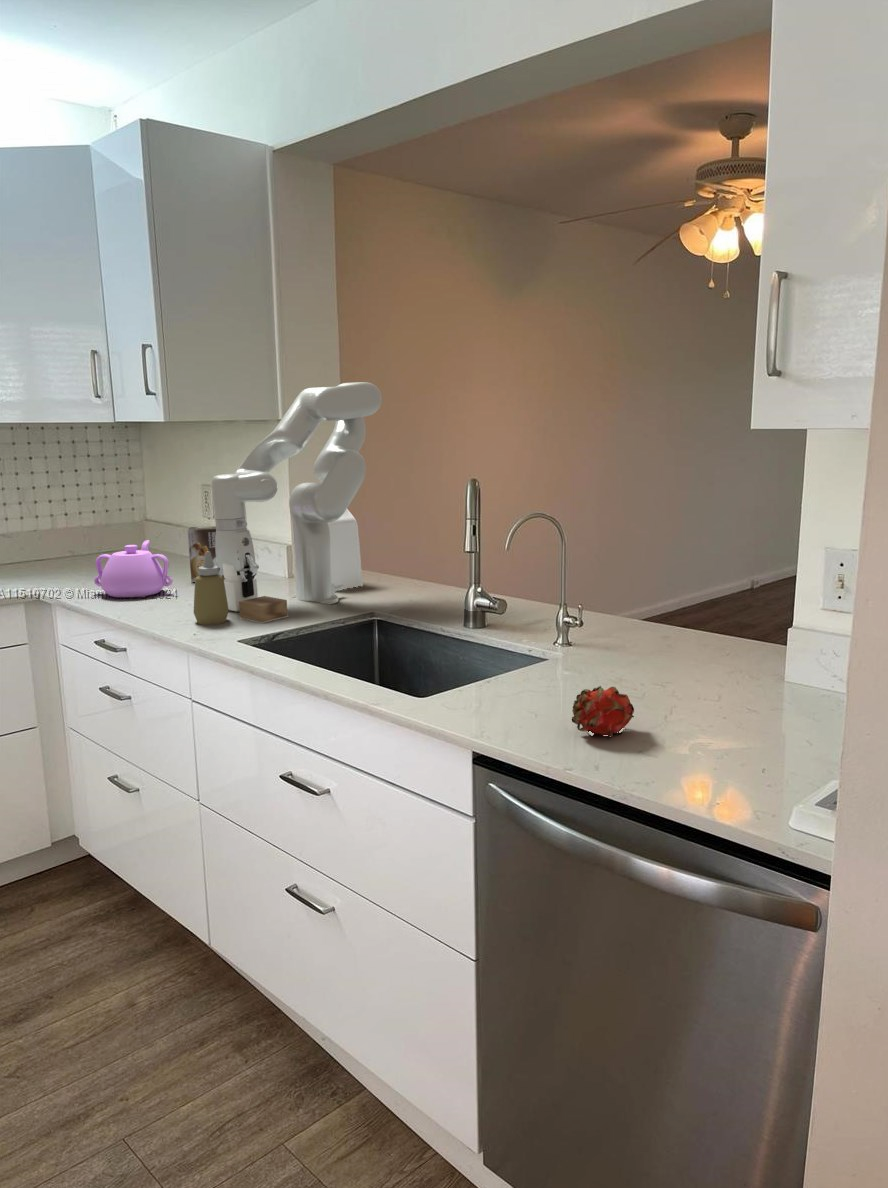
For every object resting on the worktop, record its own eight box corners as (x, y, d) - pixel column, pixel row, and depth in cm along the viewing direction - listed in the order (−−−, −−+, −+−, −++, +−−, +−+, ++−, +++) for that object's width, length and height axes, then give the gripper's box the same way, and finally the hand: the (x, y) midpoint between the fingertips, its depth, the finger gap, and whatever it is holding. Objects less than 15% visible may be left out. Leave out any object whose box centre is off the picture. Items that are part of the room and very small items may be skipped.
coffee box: (225, 578, 277) (222, 525, 274) (221, 582, 271) (218, 528, 267) (194, 579, 276) (191, 526, 273) (190, 583, 270) (186, 529, 267)
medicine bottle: (241, 602, 234) (237, 556, 231) (259, 605, 230) (255, 559, 227) (218, 608, 229) (214, 561, 226) (236, 612, 224) (232, 564, 222)
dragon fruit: (565, 748, 143) (624, 745, 148) (596, 731, 136) (657, 729, 142) (552, 697, 146) (611, 696, 152) (583, 677, 139) (643, 677, 145)
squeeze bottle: (194, 631, 211) (189, 555, 208) (194, 624, 219) (189, 550, 215) (230, 629, 213) (226, 553, 210) (228, 621, 221) (224, 548, 217)
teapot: (187, 585, 267) (184, 538, 264) (163, 600, 246) (160, 550, 243) (113, 585, 267) (109, 538, 265) (82, 600, 246) (78, 550, 243)
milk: (328, 592, 256) (325, 499, 250) (305, 586, 264) (302, 496, 259) (362, 586, 264) (360, 496, 258) (339, 580, 272) (336, 493, 267)
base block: (265, 611, 226) (264, 595, 225) (287, 616, 221) (286, 599, 220) (239, 617, 219) (238, 601, 218) (262, 622, 215) (261, 605, 214)
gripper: (266, 524, 222) (272, 595, 226) (220, 520, 233) (227, 588, 237) (242, 529, 216) (249, 601, 220) (196, 524, 227) (203, 594, 231)
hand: (237, 594), depth 229 cm, fingers closed on medicine bottle, 7 cm apart
